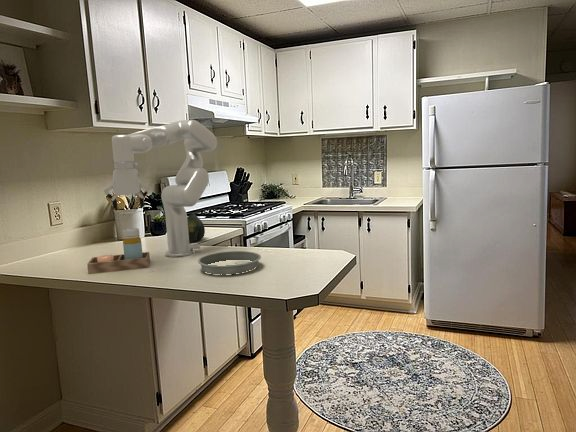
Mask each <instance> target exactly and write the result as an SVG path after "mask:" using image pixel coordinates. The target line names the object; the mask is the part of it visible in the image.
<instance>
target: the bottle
mask: <svg viewBox="0 0 576 432" xmlns="http://www.w3.org/2000/svg"><path fill="white" fill-rule="evenodd" d="M122 235H123V237H122V238H123V240H122V248H123V254H124V257H125V260H128V259H138V258H143V254H142V253H143V244H142V240H141V237H140V229H139V228H127V229H123V230H122Z"/></svg>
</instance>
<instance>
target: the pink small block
mask: <svg viewBox="0 0 576 432" xmlns="http://www.w3.org/2000/svg"><path fill="white" fill-rule="evenodd" d="M96 257H97V261H98V262H107V261H114V259H113V255H112V254H104V255H99V256H96Z"/></svg>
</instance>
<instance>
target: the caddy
mask: <svg viewBox="0 0 576 432" xmlns="http://www.w3.org/2000/svg"><path fill="white" fill-rule="evenodd" d="M142 254H143V258H138V259H128V260H125V257H124V253H122V254H115V255H113V259H114V261H107V262H98V261H97V257H98V256H93V257H92V258H90V259H89V261H88V263H87V264H86V266H87V271H88V272H87V274H88V275H92V274H93V275H95V274H101V273H113V272H120V271H123V272H124V271H129V270H130V271H131V270H133V271H134V270H142V269H148V268H149V267H150V263H151V257H150V256H151V255H150V252H149V251H142Z"/></svg>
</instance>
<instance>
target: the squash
mask: <svg viewBox="0 0 576 432" xmlns="http://www.w3.org/2000/svg"><path fill="white" fill-rule="evenodd" d="M187 221H188V233H189V242H190V243H193V242H195V241H200V240H202V239H203V238H204V237H205V234H206V231H205V230H206V229H205V226H204V223H203V221H202V220H201V219H200V218H199V217H198V216H197V214H195V213H192V214H189V215H187Z"/></svg>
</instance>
